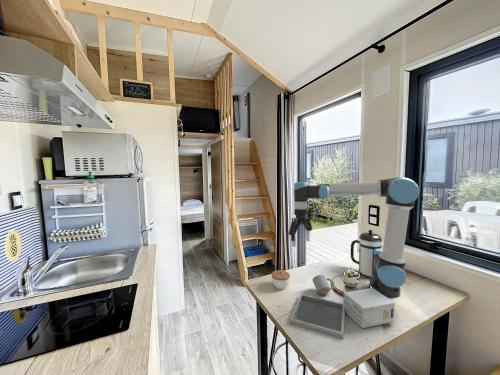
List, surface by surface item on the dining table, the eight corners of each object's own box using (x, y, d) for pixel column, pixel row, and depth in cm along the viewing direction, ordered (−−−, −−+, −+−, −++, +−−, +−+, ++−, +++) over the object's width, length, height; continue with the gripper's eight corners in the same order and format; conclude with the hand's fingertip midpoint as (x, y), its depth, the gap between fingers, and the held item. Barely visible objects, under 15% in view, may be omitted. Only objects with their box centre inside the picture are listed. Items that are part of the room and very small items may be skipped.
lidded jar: (272, 281, 133) (272, 266, 133) (290, 283, 131) (290, 268, 130) (270, 290, 123) (270, 275, 122) (289, 292, 121) (289, 276, 120)
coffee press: (377, 270, 146) (378, 226, 144) (386, 281, 131) (388, 233, 129) (350, 268, 150) (350, 225, 148) (355, 279, 135) (356, 232, 133)
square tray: (345, 307, 107) (345, 303, 106) (343, 339, 87) (343, 334, 87) (300, 297, 116) (300, 293, 116) (290, 323, 96) (290, 319, 96)
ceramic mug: (319, 297, 119) (317, 290, 114) (313, 283, 125) (311, 276, 121) (337, 290, 118) (336, 284, 113) (330, 277, 125) (329, 270, 120)
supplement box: (363, 329, 92) (363, 308, 91) (342, 310, 104) (342, 291, 104) (395, 322, 96) (395, 301, 95) (371, 304, 108) (372, 286, 108)
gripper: (307, 205, 137) (307, 237, 139) (281, 210, 121) (282, 247, 122) (318, 206, 132) (318, 240, 133) (292, 211, 115) (292, 250, 117)
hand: (301, 243), depth 128 cm, fingers open, 13 cm apart
